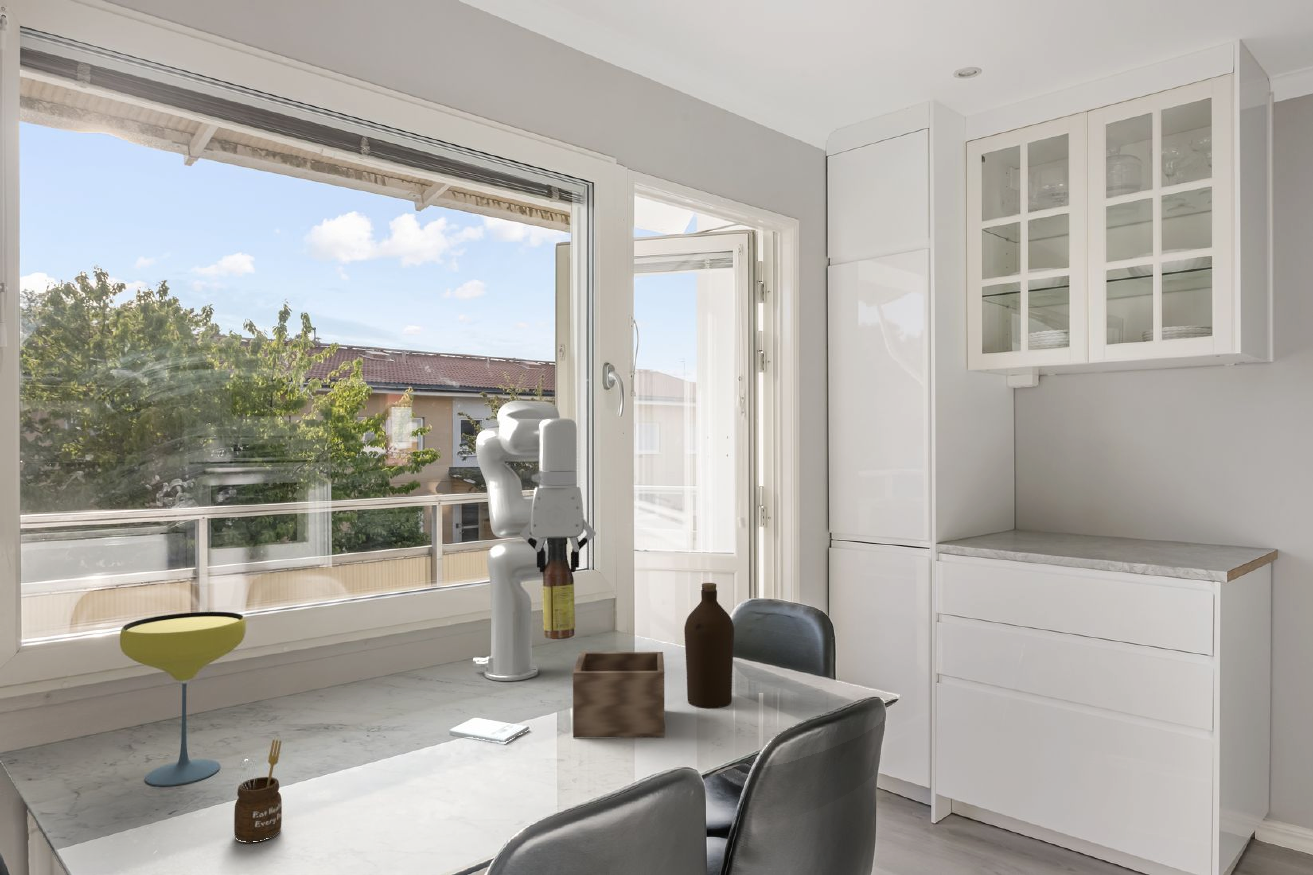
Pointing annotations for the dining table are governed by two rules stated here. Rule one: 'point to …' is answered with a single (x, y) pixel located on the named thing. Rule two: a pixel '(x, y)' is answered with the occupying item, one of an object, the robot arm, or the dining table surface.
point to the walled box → (619, 695)
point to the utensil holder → (259, 804)
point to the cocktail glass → (182, 668)
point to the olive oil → (709, 652)
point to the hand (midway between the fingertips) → (558, 570)
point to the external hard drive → (488, 730)
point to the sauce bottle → (558, 592)
